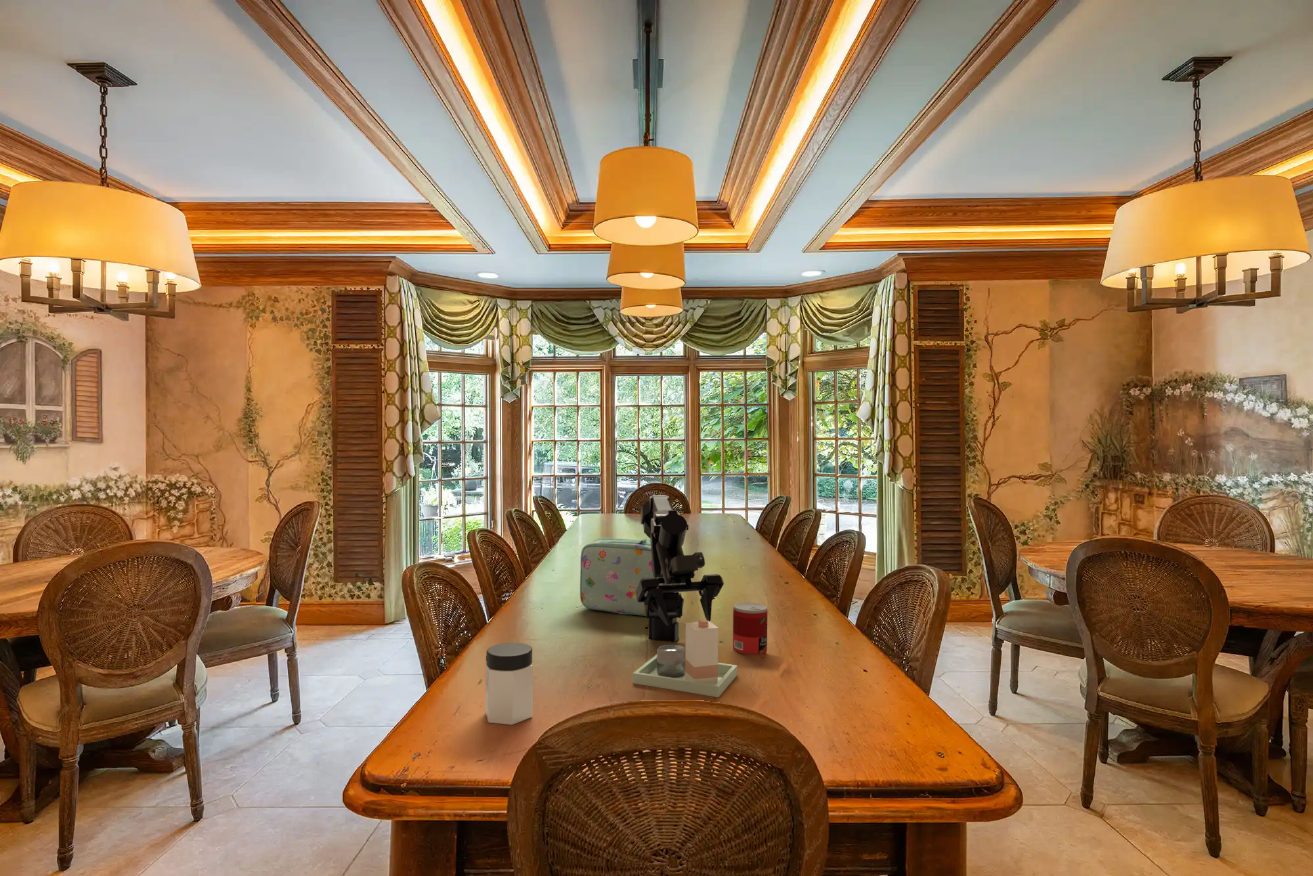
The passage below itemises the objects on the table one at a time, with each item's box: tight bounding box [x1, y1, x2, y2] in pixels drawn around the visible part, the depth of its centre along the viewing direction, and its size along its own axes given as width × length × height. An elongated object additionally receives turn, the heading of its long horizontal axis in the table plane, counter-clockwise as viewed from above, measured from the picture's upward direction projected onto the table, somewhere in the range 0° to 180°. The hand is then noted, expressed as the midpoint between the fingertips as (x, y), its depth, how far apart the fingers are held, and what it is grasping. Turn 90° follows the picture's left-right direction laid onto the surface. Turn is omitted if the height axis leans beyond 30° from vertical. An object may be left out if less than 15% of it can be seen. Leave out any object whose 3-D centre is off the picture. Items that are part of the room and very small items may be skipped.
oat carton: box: [685, 619, 719, 685], centre depth 136 cm, size 5×5×13 cm
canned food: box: [732, 601, 768, 655], centre depth 159 cm, size 8×8×11 cm
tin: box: [656, 644, 686, 678], centre depth 143 cm, size 6×6×5 cm
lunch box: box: [579, 537, 653, 617], centre depth 196 cm, size 27×10×21 cm, turn 71°
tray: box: [632, 654, 738, 698], centre depth 139 cm, size 18×13×3 cm
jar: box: [485, 642, 534, 726], centre depth 123 cm, size 9×8×12 cm
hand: (689, 622), depth 143 cm, fingers open, 9 cm apart
